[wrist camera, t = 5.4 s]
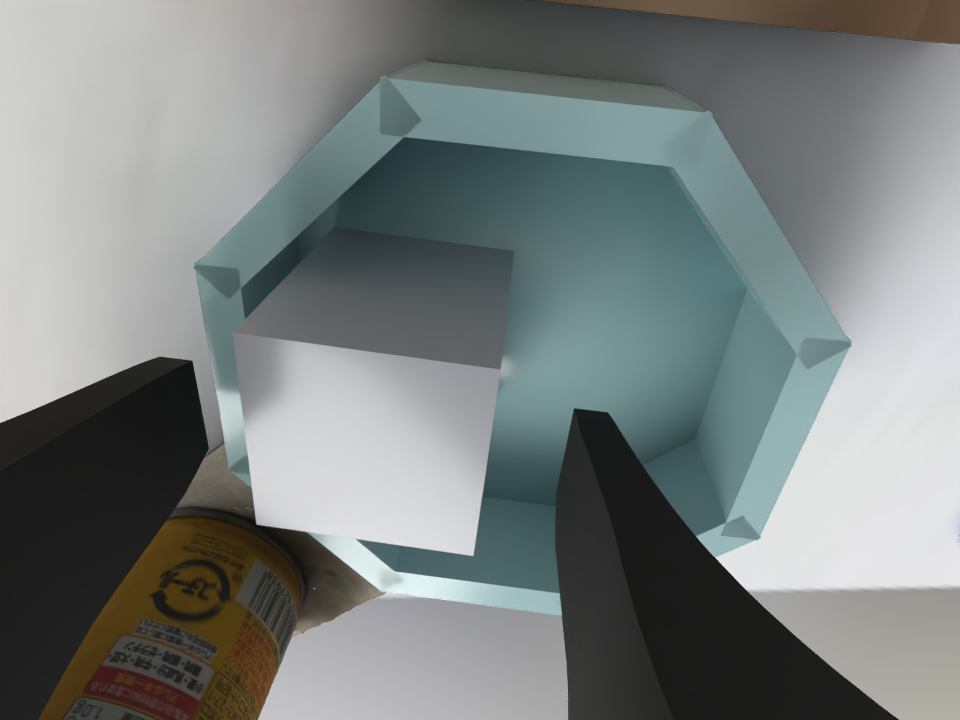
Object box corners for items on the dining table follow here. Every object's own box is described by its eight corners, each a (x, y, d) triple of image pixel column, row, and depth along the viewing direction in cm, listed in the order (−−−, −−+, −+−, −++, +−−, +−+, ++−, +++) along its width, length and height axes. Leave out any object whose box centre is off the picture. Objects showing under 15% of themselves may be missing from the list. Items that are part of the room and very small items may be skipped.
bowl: (844, 103, 11) (951, 136, 8) (684, 529, 17) (713, 637, 14) (253, 40, 12) (156, 50, 9) (295, 478, 18) (245, 574, 15)
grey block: (492, 400, 15) (473, 556, 11) (337, 378, 15) (256, 524, 11) (514, 250, 13) (501, 370, 9) (334, 227, 13) (232, 332, 9)
